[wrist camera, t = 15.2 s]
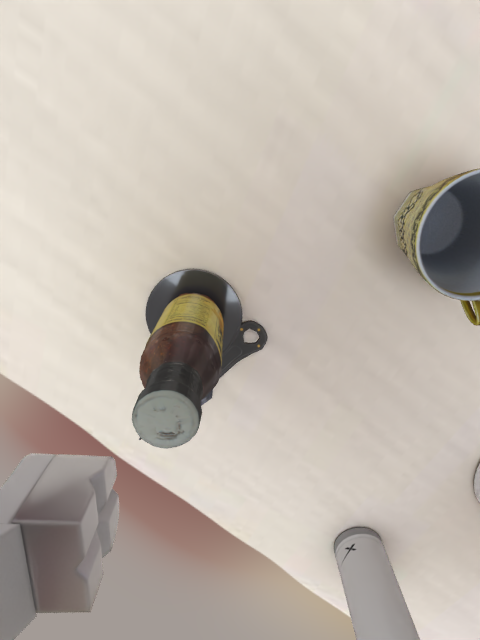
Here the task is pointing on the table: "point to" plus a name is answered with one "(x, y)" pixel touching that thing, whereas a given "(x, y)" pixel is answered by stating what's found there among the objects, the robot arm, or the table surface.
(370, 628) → the travel mug
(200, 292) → the round mirror
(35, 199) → the table surface
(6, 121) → the table surface
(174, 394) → the sauce bottle
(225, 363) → the throwing knife
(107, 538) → the robot arm
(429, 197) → the ceramic cup
